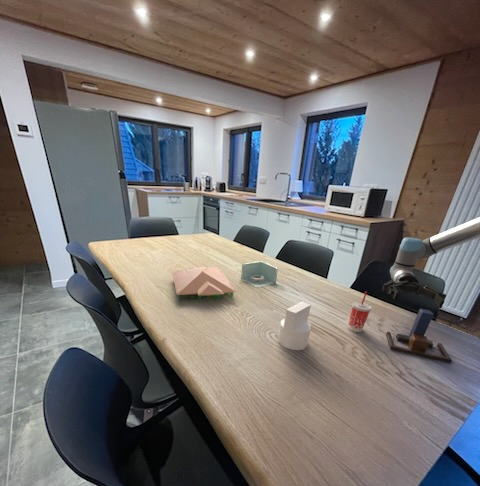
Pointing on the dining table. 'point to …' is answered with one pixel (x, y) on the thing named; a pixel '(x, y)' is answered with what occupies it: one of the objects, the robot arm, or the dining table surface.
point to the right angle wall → (259, 273)
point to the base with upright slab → (295, 327)
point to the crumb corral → (443, 358)
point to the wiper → (418, 326)
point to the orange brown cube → (418, 342)
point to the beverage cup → (359, 315)
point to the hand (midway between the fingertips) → (418, 300)
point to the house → (202, 282)
